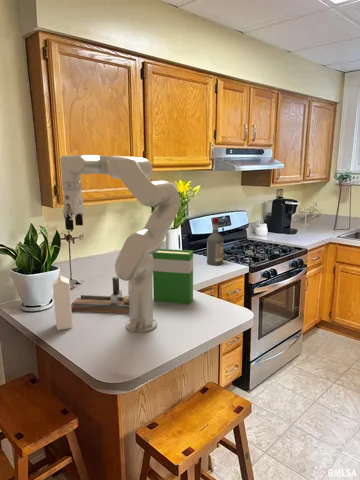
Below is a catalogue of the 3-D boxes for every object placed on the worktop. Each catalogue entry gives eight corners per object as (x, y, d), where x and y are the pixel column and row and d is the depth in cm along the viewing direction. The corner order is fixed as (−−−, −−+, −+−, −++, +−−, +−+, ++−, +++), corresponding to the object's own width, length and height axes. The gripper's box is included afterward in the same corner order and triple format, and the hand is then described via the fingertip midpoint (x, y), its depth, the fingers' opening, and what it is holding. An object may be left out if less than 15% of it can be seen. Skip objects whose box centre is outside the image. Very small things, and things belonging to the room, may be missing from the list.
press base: (138, 313, 156) (137, 296, 155) (68, 310, 160) (67, 293, 159) (143, 304, 166) (143, 288, 165) (77, 301, 170) (76, 285, 169)
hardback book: (153, 300, 171) (152, 252, 166) (158, 295, 178) (157, 248, 173) (189, 304, 167) (189, 254, 161) (193, 298, 174) (193, 250, 168)
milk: (56, 330, 142) (51, 277, 137) (57, 323, 147) (52, 273, 142) (72, 328, 143) (68, 276, 138) (72, 321, 149) (68, 271, 144)
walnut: (130, 306, 160) (129, 297, 159) (121, 305, 160) (121, 297, 159) (132, 302, 163) (132, 294, 163) (124, 302, 164) (123, 294, 163)
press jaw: (117, 306, 159) (116, 280, 156) (111, 306, 159) (109, 280, 156) (122, 300, 166) (121, 275, 163) (115, 300, 166) (114, 275, 163)
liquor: (205, 264, 231) (205, 218, 224) (212, 260, 238) (212, 216, 232) (217, 266, 226) (218, 219, 219) (224, 262, 233) (225, 217, 227)
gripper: (71, 188, 138) (74, 231, 142) (88, 185, 155) (90, 224, 158) (53, 188, 139) (56, 231, 143) (71, 185, 156) (74, 223, 159)
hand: (74, 227), depth 150 cm, fingers open, 9 cm apart
